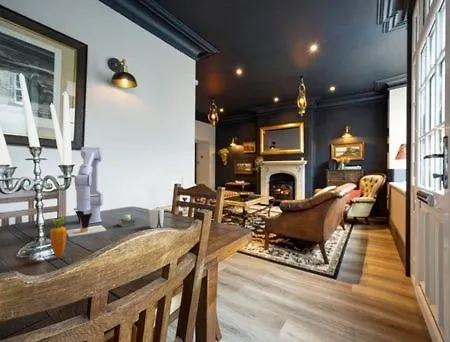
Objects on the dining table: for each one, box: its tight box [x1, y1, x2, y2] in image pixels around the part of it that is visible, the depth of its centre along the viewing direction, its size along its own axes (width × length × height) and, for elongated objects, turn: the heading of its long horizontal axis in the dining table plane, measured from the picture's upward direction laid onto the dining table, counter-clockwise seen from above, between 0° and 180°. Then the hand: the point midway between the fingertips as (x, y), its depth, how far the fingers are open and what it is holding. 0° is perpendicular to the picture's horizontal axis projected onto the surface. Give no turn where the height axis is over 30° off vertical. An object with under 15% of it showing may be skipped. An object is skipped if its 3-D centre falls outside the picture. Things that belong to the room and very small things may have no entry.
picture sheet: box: [66, 224, 107, 238], centre depth 116 cm, size 11×16×1 cm
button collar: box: [117, 217, 136, 228], centre depth 128 cm, size 7×7×3 cm
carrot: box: [49, 216, 68, 259], centre depth 83 cm, size 5×5×15 cm
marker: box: [79, 219, 88, 233], centre depth 113 cm, size 3×3×7 cm
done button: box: [121, 213, 132, 221], centre depth 128 cm, size 4×4×4 cm
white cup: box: [148, 207, 165, 229], centre depth 125 cm, size 8×8×10 cm
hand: (83, 226), depth 113 cm, fingers open, 7 cm apart
